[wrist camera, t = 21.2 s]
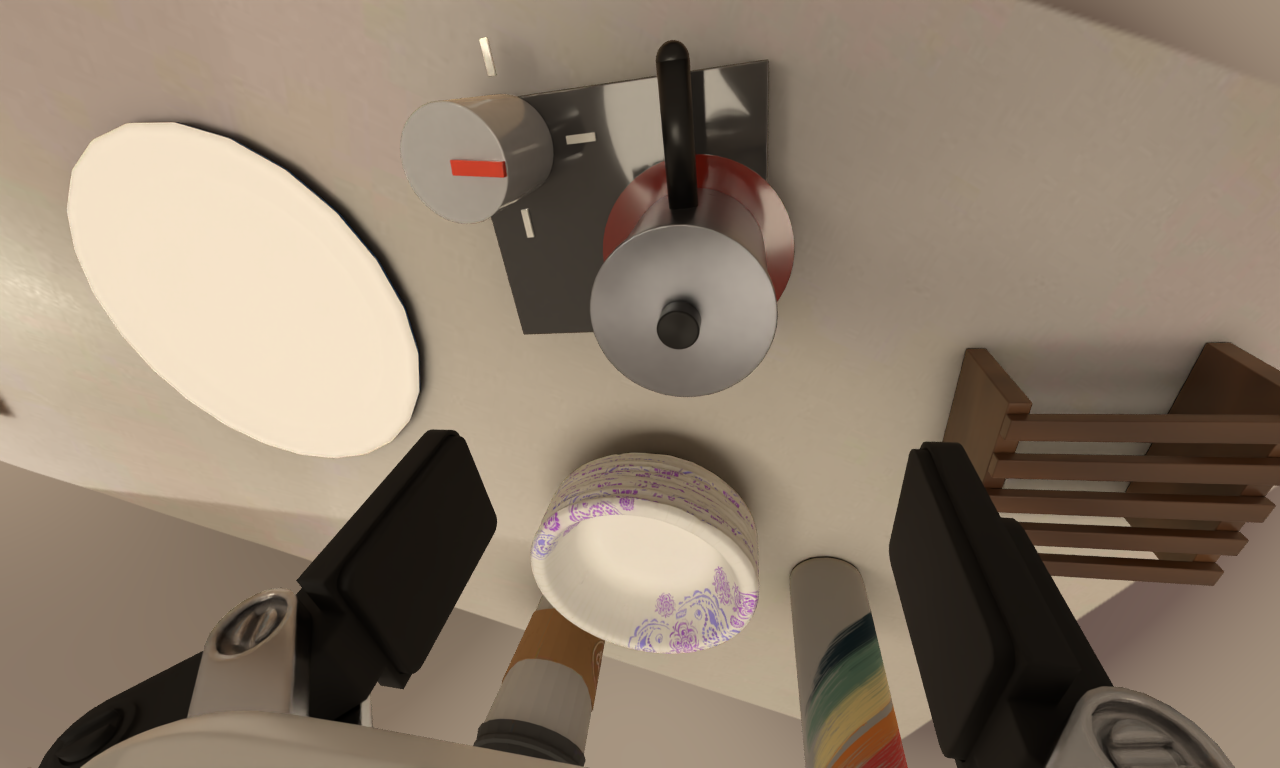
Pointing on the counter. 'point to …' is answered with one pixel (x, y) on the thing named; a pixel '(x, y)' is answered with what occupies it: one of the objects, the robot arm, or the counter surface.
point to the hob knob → (475, 155)
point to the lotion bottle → (841, 671)
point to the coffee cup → (546, 692)
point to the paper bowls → (649, 554)
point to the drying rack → (1134, 467)
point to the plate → (244, 289)
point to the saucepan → (685, 272)
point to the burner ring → (720, 178)
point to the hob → (610, 177)
